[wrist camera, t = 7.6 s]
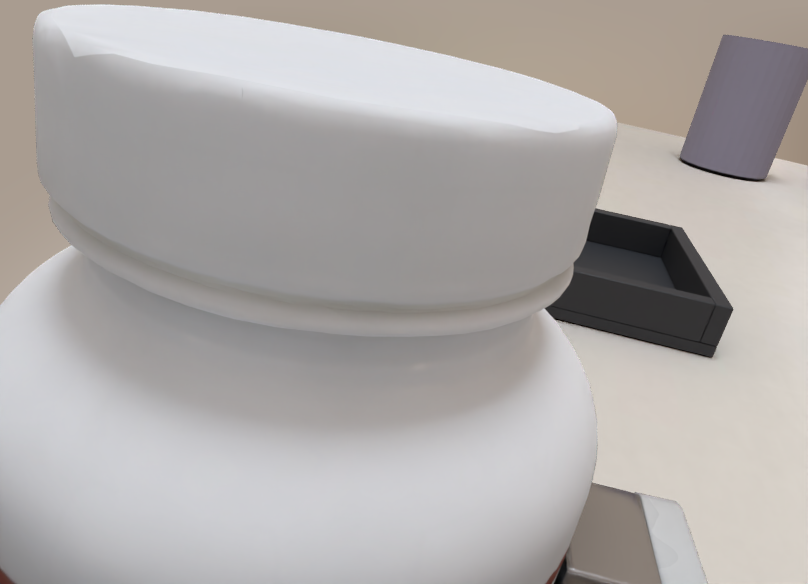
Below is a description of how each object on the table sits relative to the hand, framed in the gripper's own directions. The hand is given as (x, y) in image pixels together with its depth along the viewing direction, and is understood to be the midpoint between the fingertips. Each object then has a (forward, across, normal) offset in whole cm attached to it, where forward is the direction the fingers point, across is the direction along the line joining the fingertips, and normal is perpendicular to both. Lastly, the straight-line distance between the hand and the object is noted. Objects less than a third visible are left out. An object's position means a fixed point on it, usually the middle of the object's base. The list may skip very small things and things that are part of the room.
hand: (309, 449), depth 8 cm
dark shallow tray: (+28, -8, +7) cm, 30 cm away
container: (+78, -30, +7) cm, 84 cm away
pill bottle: (-1, 0, +6) cm, 6 cm away
